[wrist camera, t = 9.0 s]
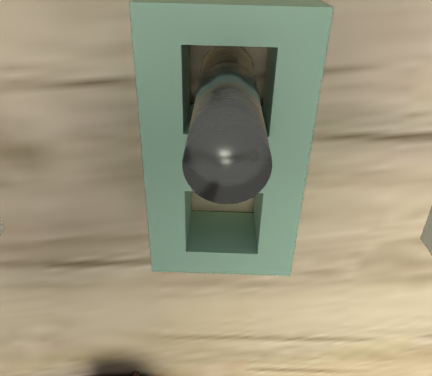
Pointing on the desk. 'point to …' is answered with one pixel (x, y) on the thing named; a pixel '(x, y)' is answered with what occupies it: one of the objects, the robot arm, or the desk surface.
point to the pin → (227, 131)
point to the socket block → (181, 116)
